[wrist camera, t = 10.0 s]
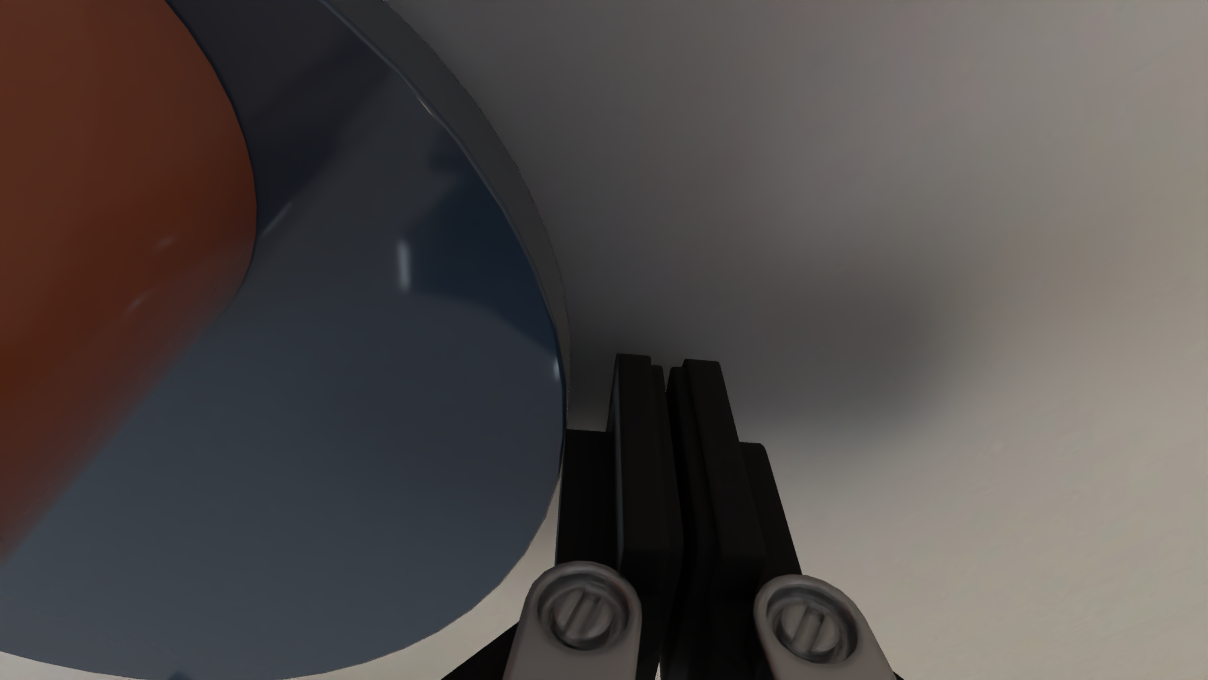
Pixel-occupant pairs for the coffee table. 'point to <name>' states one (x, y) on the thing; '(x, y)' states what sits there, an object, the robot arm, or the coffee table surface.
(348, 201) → the plate
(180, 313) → the glossy orange cylinder
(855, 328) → the coffee table surface
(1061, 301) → the coffee table surface
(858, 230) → the coffee table surface
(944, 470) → the coffee table surface
